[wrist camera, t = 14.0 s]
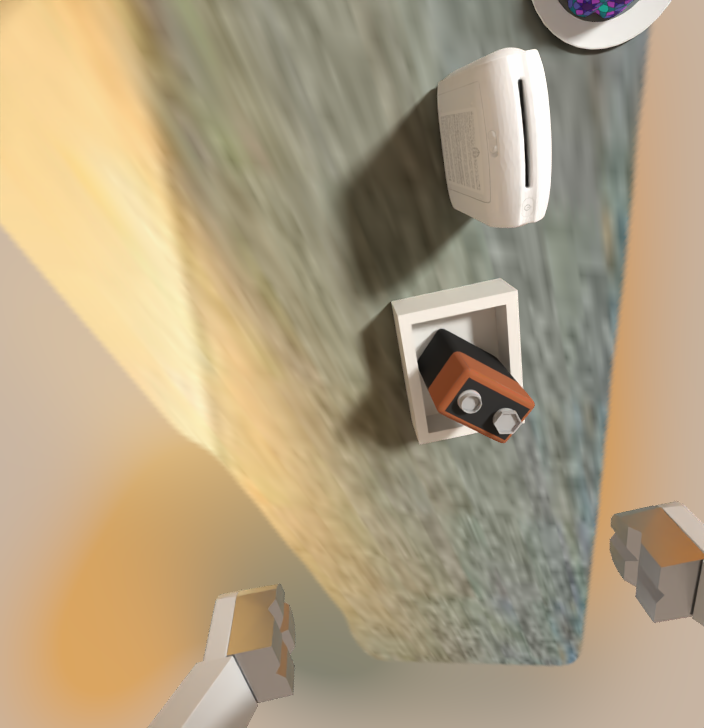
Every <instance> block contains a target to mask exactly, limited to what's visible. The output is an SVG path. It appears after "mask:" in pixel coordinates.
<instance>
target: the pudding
mask: <svg viewBox="0 0 704 728" xmlns="http://www.w3.org/2000/svg"><path fill="white" fill-rule="evenodd" d="M632 1H633V0H568V6H569V9H570V10H571V11H572V12H573V13H574V14H575V15H577V16H581V17H586V16H588V15H590V14H592V13H594V12H596V13H597V14H599V15H600V16H601V17H602V18H609V17H614V16H615V15H617V14H619V13H620V12H622V11H623V10H624V9H625V8H626V7H627V6H628V5H629V4H630V3H631V2H632ZM671 1H672V0H640V1H638V2H637V3H636V4H635V5H634V6H633V7H632V8H631V9H629V10H628V11H627V12H625V13H624V14H622V15H620V16H618V17H616V18H614V19H611V20H607V21H604V22H589V21H583V20H581V19H578V18H576V17H574V16H573V15H571V14H570V13H568V12H567V11H566V10H565V9H564V8H563V7H562V5H561V4H560V3H559V1H558V0H532V2H533V5H534V7H535V10H536V12H537V14H538V15H539V17H540V18H541V20H542V22H543V23H544V25H545V26H546V27H547V28H548V29H549V30H550V31H551V32H552V33H553V34H554V35H555V36H557V37H558V38H559V39H561V40H562V41H564V42H565V43H568V44H570V45H573V46H575V47H578V48H585V49H605V48H609V47H613V46H616V45H619V44H621V43H624V42H626V41H628V40H630V39H632V38H634V37H635V36H637V35H638V34H639V33H641V32H642V31H644V30H645V29H646V28H648V27H649V26H650V25H651V24H652V23H653V22H654V21H655V20H656V19H657V18H658V17H659V16H660V15H661V14H662V12H663V11H664V10H665V9H666V7H667V6H668V5H669V4H670V2H671Z"/></svg>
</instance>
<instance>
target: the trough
mask: <svg viewBox="0 0 704 728" xmlns="http://www.w3.org/2000/svg"><path fill="white" fill-rule="evenodd" d="M391 305H392V311H393V316H394V322H395V328H396V334H397V339H398V345H399V351H400V357H401V362H402V368H403V374H404V380H405V385H406V391H407V397H408V403H409V409H410V414H411V420H412V424H413V427H414V430H415V433H416V436H417V439H418V442H419V444H424V443H429V442H434V441H439V440H444V439H449V438H454V437H458V436H463V435H468V434H473V433H478V432H477V431H475V430H473V429H471V428H469V427H466V426H464V425H462V424H460V423H458V422H456V421H454V420H452V419H450V418H448V417H446V416H444V415H442V414H440V413H439V412H438V411H437V409H436V407H435V405H434V402H433V400H432V398H431V396H430V394H429V391H428V389H427V387H426V385H425V382H424V380H423V378H422V376H421V374H420V371H419V369H418V363H417V361H418V359H419V358H420V356H421V355H422V353H423V352H424V350H425V349H426V347H427V346H428V344H429V343H430V341H431V340H432V338H433V337H434V335H435V334H436V332H437V331H438V330H439V329H445V330H447V331H449V332H451V333H453V334H455V335H457V336H459V337H460V338H462V339H464V340H466V341H468V342H470V343H471V344H473V345H475V346H477V347H479V348H481V349H483V350H484V351H486V352H488V353H490V354H492V355H493V356H495V357H497V358H498V360H499V361H500V362H501V363H502V364H503V366H504V367H505V368H506V369H507V370H508V371H509V373H510V374H511V375H512V376H513V377H514V379H515V380H516V381H517V382H518V383H519V384H520V386H521V387H522V388H523V382H522V363H521V345H520V327H519V308H518V290H516V289H515V288H514V287H512V286H511V285H510V284H508V283H507V282H505V281H504V280H503V279H501V278H498V279H493V280H489V281H484V282H479V283H475V284H470V285H465V286H461V287H456V288H451V289H447V290H442V291H437V292H433V293H428V294H423V295H419V296H414V297H409V298H405V299H400V300H395V301H391ZM522 423H525V419H524V420H523V422H522Z"/></svg>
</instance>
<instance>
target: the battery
mask: <svg viewBox="0 0 704 728" xmlns="http://www.w3.org/2000/svg"><path fill="white" fill-rule="evenodd" d="M417 363H418V369H419V371H420V374H421V376H422V378H423V380H424V382H425V385H426V387H427V389H428V391H429V394H430V396H431V398H432V400H433V402H434V405H435V407H436V409H437V411H438V412H439V413H440V414H442V415H444V416H446V417H448V418H450V419H452V420H454V421H456V422H458V423H460V424H462V425H464V426H466V427H469V428H471V429H473V430H475V431H477V432H479V433H481V434H483V435H485V436H487V437H489V438H491V439H493V440H495V441H498V442H500V443H505V442H506V441H507V440H508V439H509V438H510V437H511V435H512V434H514V433H515V432H516V430H517V429H518V428H519V427H520V425H521V424H522V422H523V420H524V419H525V418H526V417H527V415H528V414H529V413H530V412H531V410H532V409H533V408H534V406H535V404H534V401H533V400H532V399H531V398H530V396H529V395H528V394H527V393H526V392H525V390H524V389H523V388H522V387H521V386H520V384H519V383H518V382H517V381H516V380H515V379H514V377H513V376H512V375H511V374H510V373H509V371H508V370H507V369H506V368H505V367H504V366H503V364H502V363H501V362H500V361H499V360H498V358H497V357H495V356H493V355H492V354H490V353H488V352H486V351H484V350H483V349H481V348H479V347H477V346H475V345H473V344H471V343H470V342H468V341H466V340H464V339H462V338H460V337H459V336H457V335H455V334H453V333H451V332H449V331H447V330H445V329H439V330H438V331H437V332H436V334H435V335H434V337H433V338H432V340H431V341H430V343H429V344H428V346H427V347H426V349H425V350H424V352H423V353H422V355H421V356H420V358H419V359H418V361H417Z"/></svg>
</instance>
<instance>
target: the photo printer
mask: <svg viewBox="0 0 704 728" xmlns="http://www.w3.org/2000/svg"><path fill="white" fill-rule="evenodd" d="M437 104H438V116H439V125H440V134H441V143H442V151H443V159H444V167H445V173H446V181H447V187H448V192H449V197H450V200H451V203H452V206H453V208H454V209H456V210H458V211H460V212H462V213H464V214H467V215H469V216H471V217H473V218H475V219H477V220H478V221H480V222H482V223H484V224H486V225H488V226H491V227H498V228H513V227H519V226H523V225H525V224H527V223H531V222H536V221H538V220H540V219H542V218H543V217H544V215H545V212H546V208H547V204H548V199H549V193H550V183H551V125H550V111H549V100H548V92H547V85H546V78H545V73H544V69H543V65H542V62H541V59H540V56H539V53H538V51H537V50H536V49H532V50H528V51H524V50H521V49H518V48H504V49H500V50H497V51H495V52H493V53H491V54H489V55H487V56H485V57H482V58H480V59H478V60H476V61H474V62H472V63H470V64H468V65H466V66H464V67H462V68H459V69H457V70H455V71H454V72H452V73H450V74H449V75H448V76H447V77H446V78H445V79H444V80H442V81H440V82H439V83H438V92H437Z"/></svg>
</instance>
